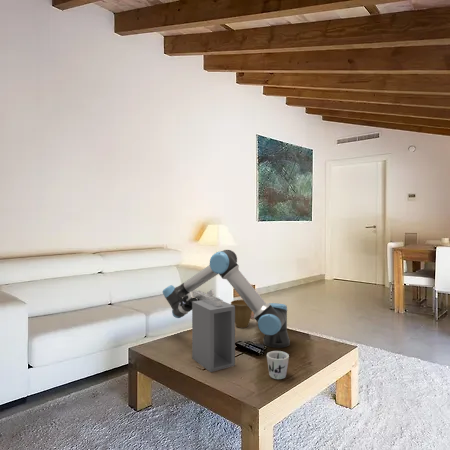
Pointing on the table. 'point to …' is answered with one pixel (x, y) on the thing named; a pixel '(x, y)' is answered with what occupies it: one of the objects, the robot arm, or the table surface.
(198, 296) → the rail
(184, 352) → the table surface
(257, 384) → the table surface
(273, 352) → the mug
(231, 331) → the shelf
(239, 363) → the table surface
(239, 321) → the plant pot
